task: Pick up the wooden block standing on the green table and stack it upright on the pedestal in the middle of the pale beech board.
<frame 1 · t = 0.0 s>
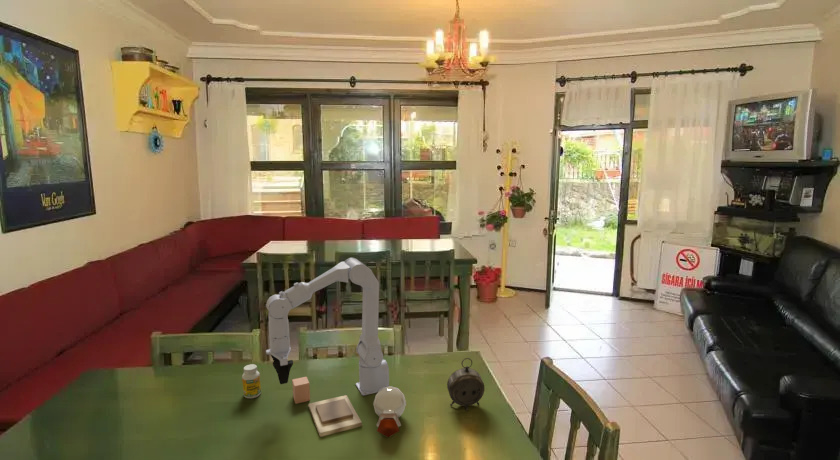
hand: (281, 377, 141), 10 cm above the table, tool pointing down, fingers open, 7 cm apart
supplement bottle: (252, 395, 150), on the table
block: (301, 398, 148), on the table
alarm clock: (465, 407, 143), on the table
potion bottle: (390, 423, 135), on the table
base board: (334, 416, 138), on the table
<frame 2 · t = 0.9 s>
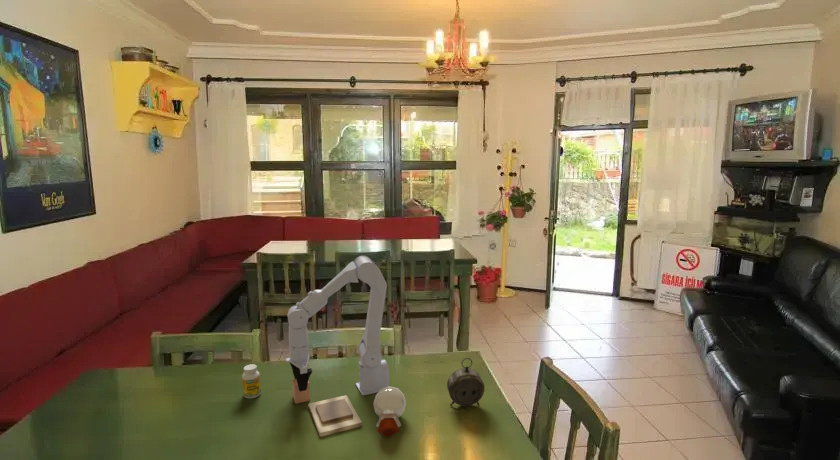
hand: (300, 384, 147), 5 cm above the table, tool pointing down, fingers open, 7 cm apart
nothing on the table moved.
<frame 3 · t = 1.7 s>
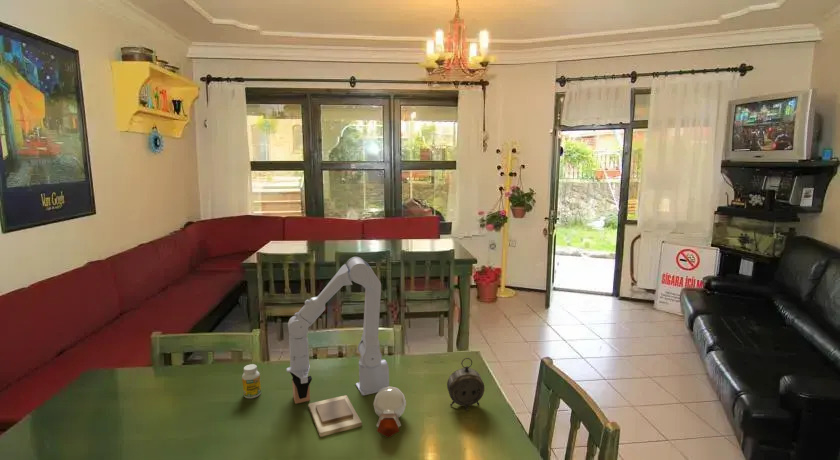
hand: (301, 393, 147), 2 cm above the table, tool pointing down, fingers closed on block, 4 cm apart
block: (301, 398, 148), on the table, touching gripper
everything else where it was.
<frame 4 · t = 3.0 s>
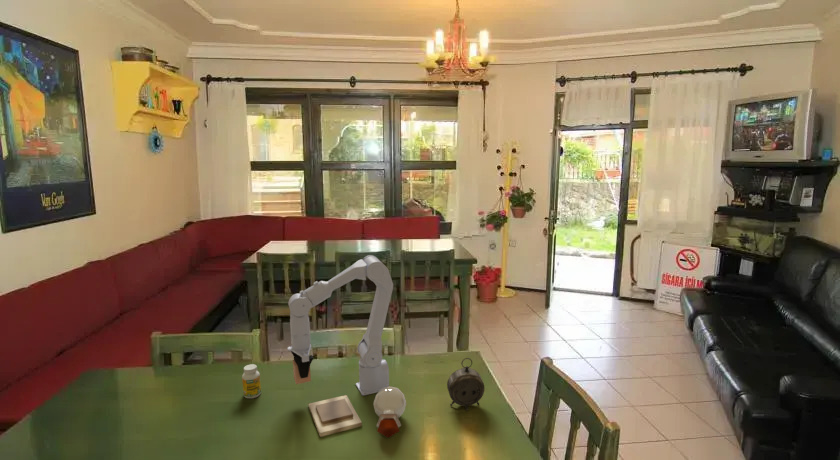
hand: (302, 373, 145), 9 cm above the table, tool pointing down, fingers closed on block, 4 cm apart
block: (302, 379, 146), point 7 cm above the table, touching gripper
everything else where it was.
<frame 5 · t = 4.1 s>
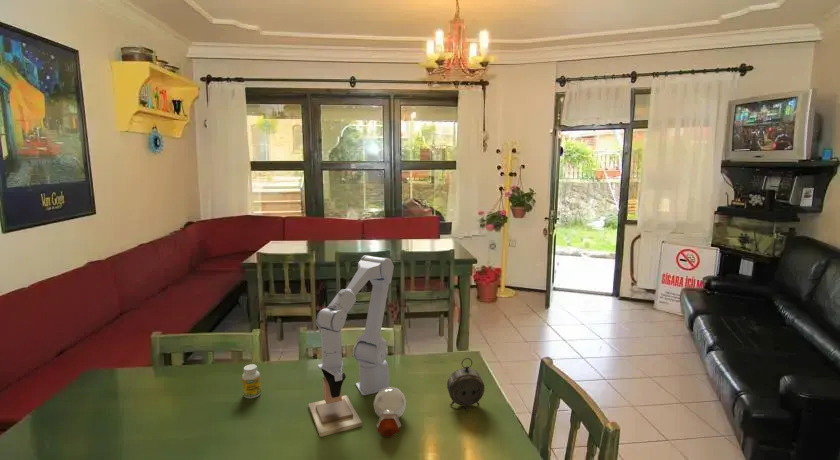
hand: (333, 392, 137), 8 cm above the table, tool pointing down, fingers closed on block, 5 cm apart
block: (332, 398, 137), point 6 cm above the table, touching gripper
everything else where it was.
when the fingers open (5 cm above the table, at t = 5.0 s): block stays where it is, resting on base board.
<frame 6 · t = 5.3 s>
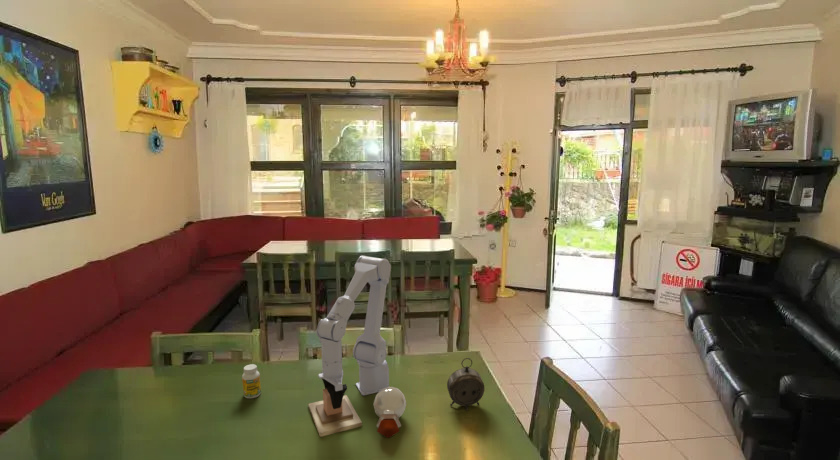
hand: (333, 401, 137), 5 cm above the table, tool pointing down, fingers open, 7 cm apart
block: (333, 409, 137), point 2 cm above the table, touching base board
everything else where it was.
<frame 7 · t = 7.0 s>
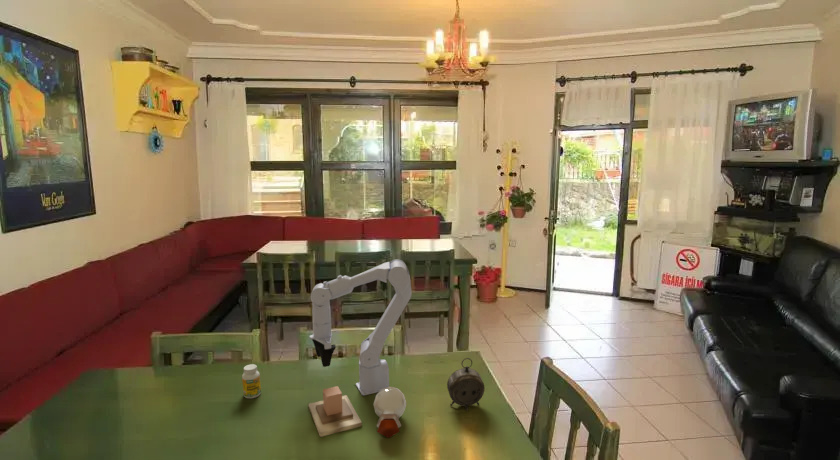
hand: (323, 360, 151), 10 cm above the table, tool pointing down, fingers open, 7 cm apart
nothing on the table moved.
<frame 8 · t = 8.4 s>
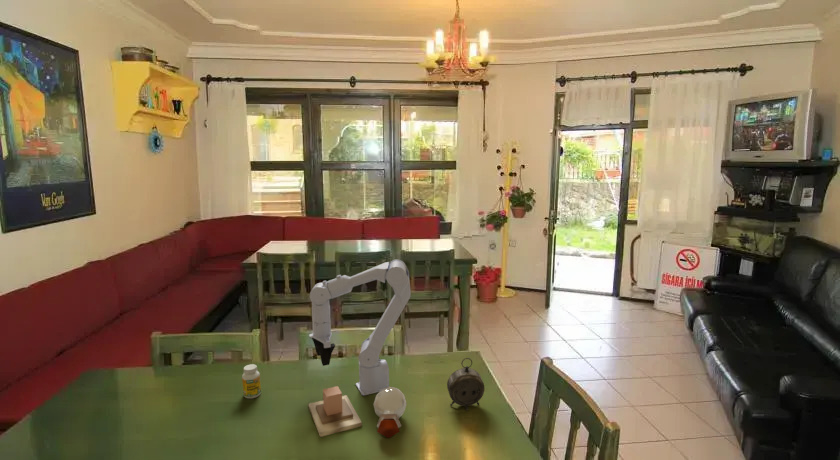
hand: (323, 359, 152), 10 cm above the table, tool pointing down, fingers open, 7 cm apart
nothing on the table moved.
at the end: block inside the target area on the base board (0.3 cm from its centre), point 2.2 cm above the base board's base; block tilted 0°; block touching base board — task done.
